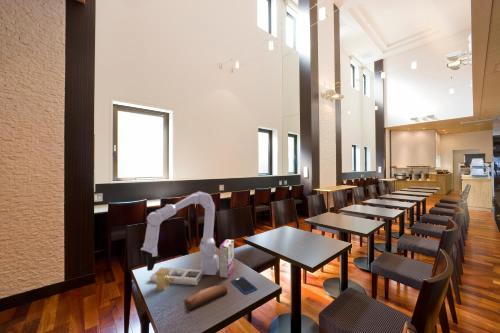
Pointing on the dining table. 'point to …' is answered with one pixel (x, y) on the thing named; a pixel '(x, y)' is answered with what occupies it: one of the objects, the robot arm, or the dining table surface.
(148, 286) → the dining table surface
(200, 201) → the robot arm
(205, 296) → the brown rounded bar
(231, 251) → the candy bar box
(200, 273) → the white compartment tray
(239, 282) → the cell phone
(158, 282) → the brass block
